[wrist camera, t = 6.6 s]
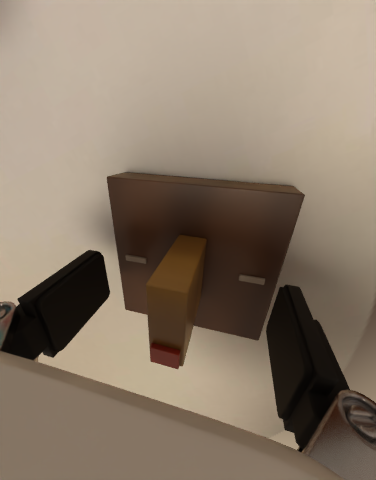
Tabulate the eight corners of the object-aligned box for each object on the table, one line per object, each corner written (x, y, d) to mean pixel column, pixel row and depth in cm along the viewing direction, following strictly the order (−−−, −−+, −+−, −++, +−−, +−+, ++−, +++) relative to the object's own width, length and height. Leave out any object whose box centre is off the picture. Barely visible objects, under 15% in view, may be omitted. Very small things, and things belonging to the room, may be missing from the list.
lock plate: (294, 186, 10) (306, 195, 8) (256, 318, 15) (259, 343, 13) (125, 172, 12) (104, 177, 10) (137, 292, 17) (124, 311, 15)
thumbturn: (179, 233, 11) (142, 288, 7) (207, 238, 11) (186, 297, 6) (177, 293, 13) (147, 363, 9) (200, 298, 13) (181, 373, 8)
